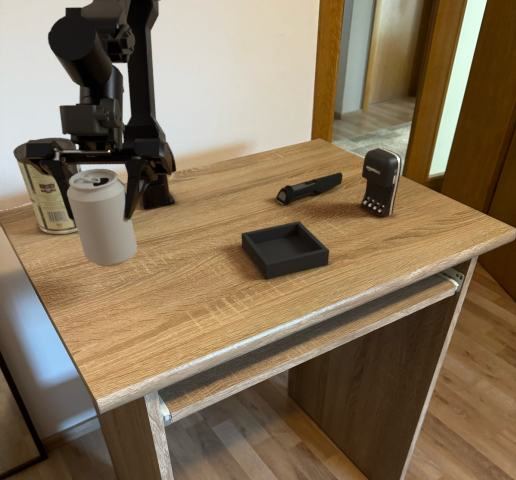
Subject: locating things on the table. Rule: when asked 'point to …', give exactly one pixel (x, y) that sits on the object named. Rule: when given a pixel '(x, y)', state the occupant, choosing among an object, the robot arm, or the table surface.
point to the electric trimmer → (308, 188)
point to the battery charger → (381, 180)
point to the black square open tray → (284, 249)
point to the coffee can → (47, 192)
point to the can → (102, 217)
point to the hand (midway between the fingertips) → (99, 219)
